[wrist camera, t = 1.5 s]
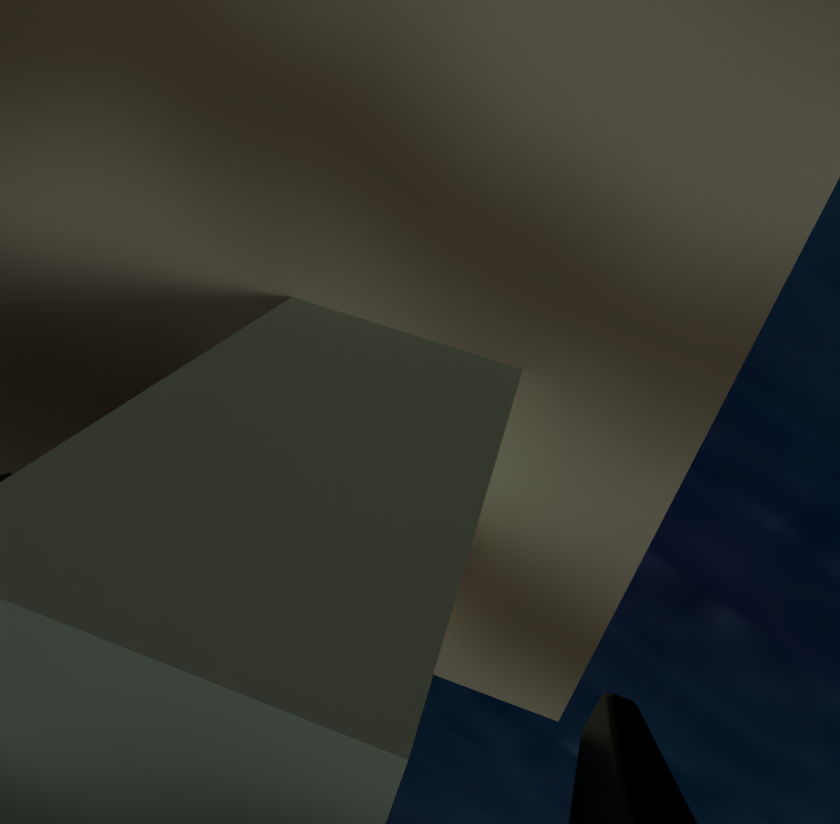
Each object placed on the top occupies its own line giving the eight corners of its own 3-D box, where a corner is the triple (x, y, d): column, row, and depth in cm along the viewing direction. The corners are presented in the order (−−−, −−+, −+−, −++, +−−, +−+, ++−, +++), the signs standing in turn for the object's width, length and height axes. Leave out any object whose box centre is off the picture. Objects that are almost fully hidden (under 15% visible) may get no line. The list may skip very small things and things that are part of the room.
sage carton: (522, 369, 10) (409, 760, 4) (428, 651, 13) (284, 1108, 7) (292, 296, 11) (-113, 554, 5) (253, 585, 14) (-21, 964, 8)
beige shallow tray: (560, 683, 14) (553, 788, 12) (-67, 451, 16) (-171, 506, 14) (1316, -837, 5) (1822, -1496, 3) (-299, -962, 7) (-695, -1428, 5)
